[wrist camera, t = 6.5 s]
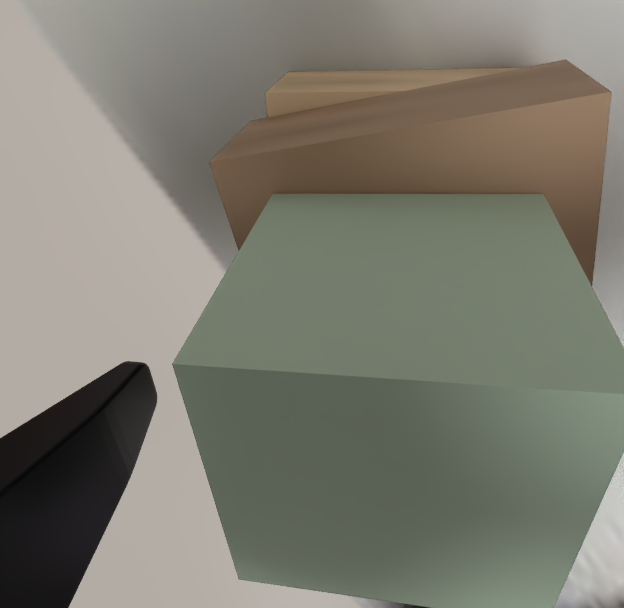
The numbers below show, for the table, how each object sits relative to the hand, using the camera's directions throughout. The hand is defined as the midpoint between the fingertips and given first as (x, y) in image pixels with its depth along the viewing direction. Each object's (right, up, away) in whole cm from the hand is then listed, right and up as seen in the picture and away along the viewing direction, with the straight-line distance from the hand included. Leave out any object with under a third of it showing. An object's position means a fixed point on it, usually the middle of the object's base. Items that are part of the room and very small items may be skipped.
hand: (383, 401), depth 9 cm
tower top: (+1, +4, +4) cm, 6 cm away
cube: (+1, +2, +2) cm, 3 cm away
